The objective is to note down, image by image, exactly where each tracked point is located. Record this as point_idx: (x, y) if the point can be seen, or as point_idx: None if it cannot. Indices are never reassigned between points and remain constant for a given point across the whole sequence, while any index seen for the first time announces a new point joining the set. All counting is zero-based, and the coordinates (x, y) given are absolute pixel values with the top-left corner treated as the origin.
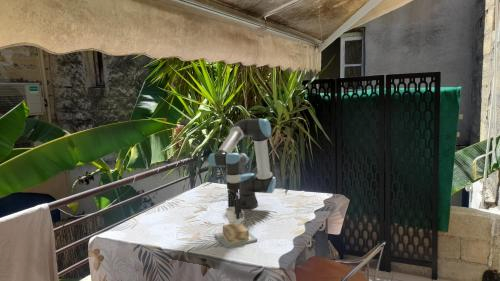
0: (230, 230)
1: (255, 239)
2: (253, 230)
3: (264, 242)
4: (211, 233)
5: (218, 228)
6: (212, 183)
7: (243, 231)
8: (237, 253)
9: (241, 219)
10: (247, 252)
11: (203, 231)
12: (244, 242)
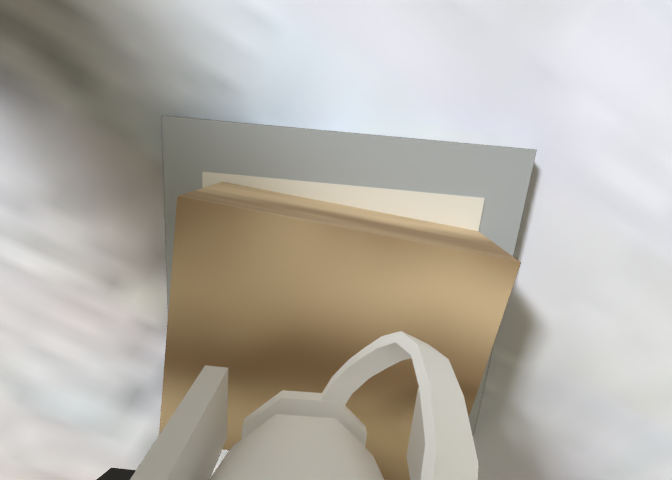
0: (369, 440)
1: (530, 172)
2: (233, 18)
3: (603, 98)
4: (107, 411)
5: (13, 315)
6: None
7: (495, 327)
8: (609, 420)
9: (379, 355)
10: (657, 350)
11: (33, 443)
12: None
